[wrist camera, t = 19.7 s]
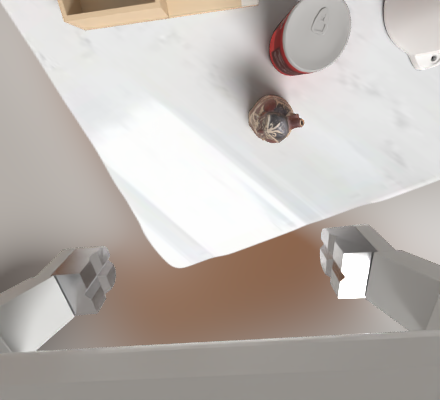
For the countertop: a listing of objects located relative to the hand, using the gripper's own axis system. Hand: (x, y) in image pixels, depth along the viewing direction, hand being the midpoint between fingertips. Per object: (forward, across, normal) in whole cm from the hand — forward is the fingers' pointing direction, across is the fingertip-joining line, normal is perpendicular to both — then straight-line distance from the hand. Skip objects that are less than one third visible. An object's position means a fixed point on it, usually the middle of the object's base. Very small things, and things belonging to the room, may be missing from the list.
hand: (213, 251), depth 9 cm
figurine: (+37, -8, 0) cm, 38 cm away
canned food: (+37, -12, -10) cm, 40 cm away
